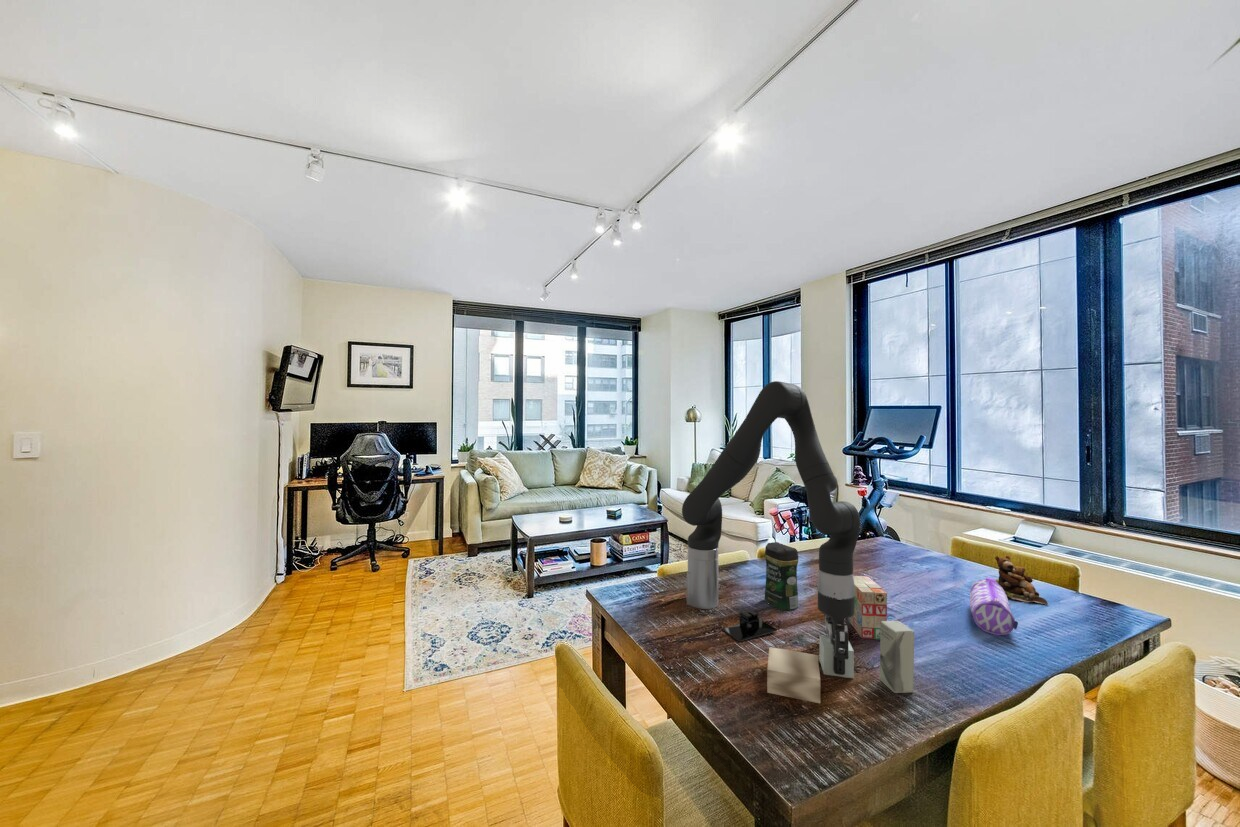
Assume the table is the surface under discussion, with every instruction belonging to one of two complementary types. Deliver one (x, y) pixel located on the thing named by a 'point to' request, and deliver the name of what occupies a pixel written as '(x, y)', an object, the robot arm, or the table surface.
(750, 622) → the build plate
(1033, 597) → the bear figurine
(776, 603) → the coffee jar
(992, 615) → the pencil case
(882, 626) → the box
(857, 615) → the stack of blocks
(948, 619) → the table surface
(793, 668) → the oak block
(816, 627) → the table surface
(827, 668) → the sage cube
